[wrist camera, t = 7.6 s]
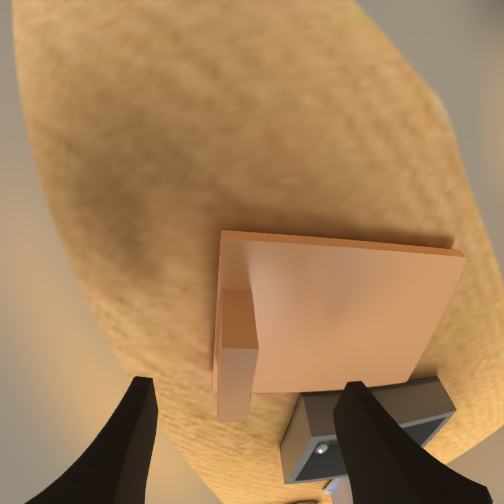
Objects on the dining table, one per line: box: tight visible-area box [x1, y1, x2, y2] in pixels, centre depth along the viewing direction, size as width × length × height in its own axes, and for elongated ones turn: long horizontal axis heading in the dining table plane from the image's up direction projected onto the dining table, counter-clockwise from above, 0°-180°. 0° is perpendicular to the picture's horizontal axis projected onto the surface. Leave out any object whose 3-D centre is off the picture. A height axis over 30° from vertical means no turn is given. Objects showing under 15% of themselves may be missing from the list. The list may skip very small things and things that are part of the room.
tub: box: [280, 376, 456, 484], centre depth 19 cm, size 8×11×4 cm
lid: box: [212, 230, 468, 422], centre depth 14 cm, size 9×12×5 cm
